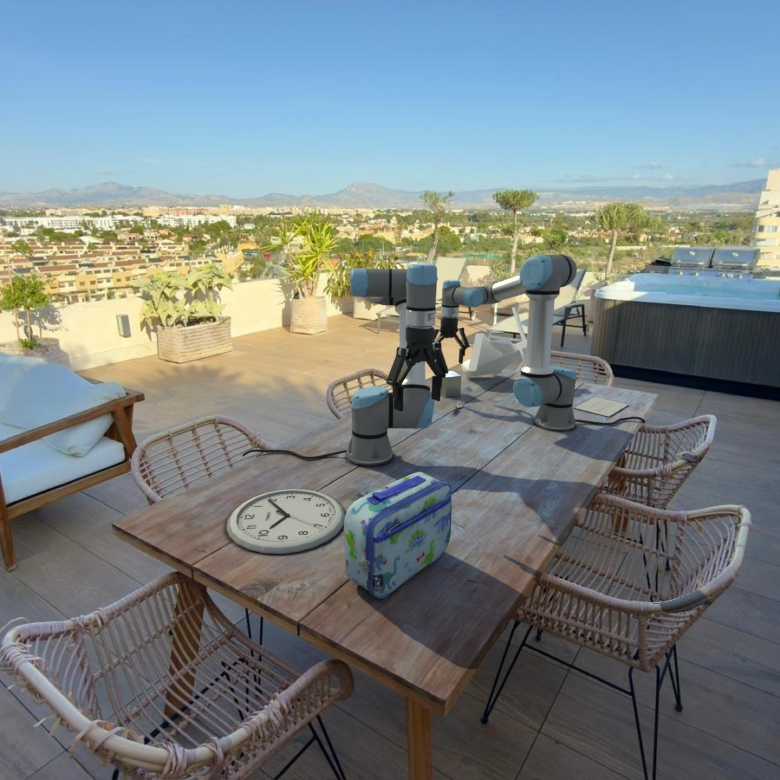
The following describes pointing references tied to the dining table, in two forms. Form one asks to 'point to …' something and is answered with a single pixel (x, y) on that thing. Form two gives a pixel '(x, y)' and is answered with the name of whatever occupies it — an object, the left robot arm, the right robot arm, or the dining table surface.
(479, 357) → the white plastic object
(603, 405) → the invitation card
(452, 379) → the block
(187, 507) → the dining table surface
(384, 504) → the lunch box
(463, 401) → the fork
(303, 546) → the wall clock
